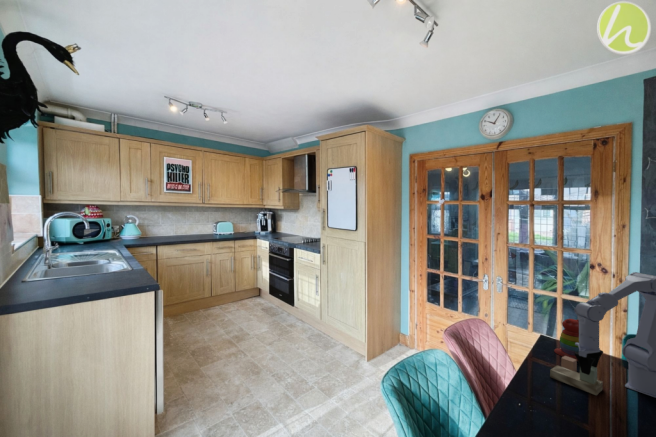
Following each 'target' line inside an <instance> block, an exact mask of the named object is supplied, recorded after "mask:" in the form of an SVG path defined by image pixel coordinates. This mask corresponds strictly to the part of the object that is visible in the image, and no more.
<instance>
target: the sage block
mask: <svg viewBox="0 0 656 437" xmlns="http://www.w3.org/2000/svg"><path fill="white" fill-rule="evenodd" d="M579 373H580V379H581V380H584V381H586V382H589V383H591V384H595V383H596V382H597V380H598V367H597V368H596V367H593V366H592V367H591V372H590V374H589V375H587V374H584V373H582V372H581V368H580V367H579Z"/></svg>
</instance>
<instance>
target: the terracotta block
mask: <svg viewBox="0 0 656 437" xmlns="http://www.w3.org/2000/svg"><path fill="white" fill-rule="evenodd" d="M560 360H561V361H560V362H561V364H560V366H561V367H564V368H566V369H569V370H572V371H575V372H577V371H578V370H577V366H578V365H577V364H578V363H577V362H578V361H577V360H576V359H573V358H570V357H567V356H564V357H562V356H561V358H560Z"/></svg>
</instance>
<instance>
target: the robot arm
mask: <svg viewBox="0 0 656 437" xmlns="http://www.w3.org/2000/svg"><path fill="white" fill-rule="evenodd" d="M624 279H625V280H624V281H623V282H621V283H620V284H619V285H617V286H616V287H615V288H613V289H612V290H610V291H609V292H603V291H602V292H599V293H598V294H597V295H596V296H594V297H592V298H591V299H589V300H587V301H586V302H584V301H582V302H579V303H578V304H576V306H575V307H574V308H573V309H574V313H575V315H577V319H578V320H579V343H578V342H576V343H575V345H576V346H578V347H579V352H575V356H576V358H577V360H578V361H577V362H578V364H579V365H578V366H579V369H580V368H581V372H582V373H584V374H587V375H589V374H590V372H591V367H592V366H593V367H596V368H597V369H598V364H599V361H600V359H601V357H602V356H603V354H604V351H603V350H601V347H600V322H601V321H602V320H603V319H604V317H605V315H606V314H607V312H609V311H610V310H612V309H613V308H615V307H617V306H618V305H619V301H620V300H622V299H624V298H626V297H628V296H630V295H632V294H634V293H636V292H638V293H639V294H641V295H642V296H643V298H644V299H645V302H644V305H643V309H642V312H641V316H640V319H639V324H638V326H637V330H636V334H635V337H633V338H630V339H629V338H628V339H627V341H626V343H625V345H623V347H622V350H621V353H622V355H623V357H625V358H626V362H628V381H627V382H626V383H625V384H624V387H625V388H628V389H630V390H632V391H635V392H639V393H642V394H644V395H647V396H650V397H653V398H656V275H652V274H648V273H647V274H645V273H641V272H636V271H633V272H630V273H629V275H626V276H625V278H624Z"/></svg>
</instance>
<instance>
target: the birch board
mask: <svg viewBox="0 0 656 437" xmlns="http://www.w3.org/2000/svg"><path fill="white" fill-rule="evenodd" d="M549 371H550V373H549V377H550V378H551V379H553V380H557V381H559V382H561V383H565V384H567V385H569V386H572V387H574V388H577V389H579V390H581V391H584V392H587V393H588V394H592V395H594V396H598V395H599V393H601V392H602V391H603V389H604V387H603V382H604V381H602V380H599V379H597V382H596V383H595V384H591V383H589V382H586V381H584V380H581V379H580V372H577V371H576V372H575V371H572V370H569V369H566V368H564V367H561V365H555V366H554V367H553V368H551V369H550V370H549Z"/></svg>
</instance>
